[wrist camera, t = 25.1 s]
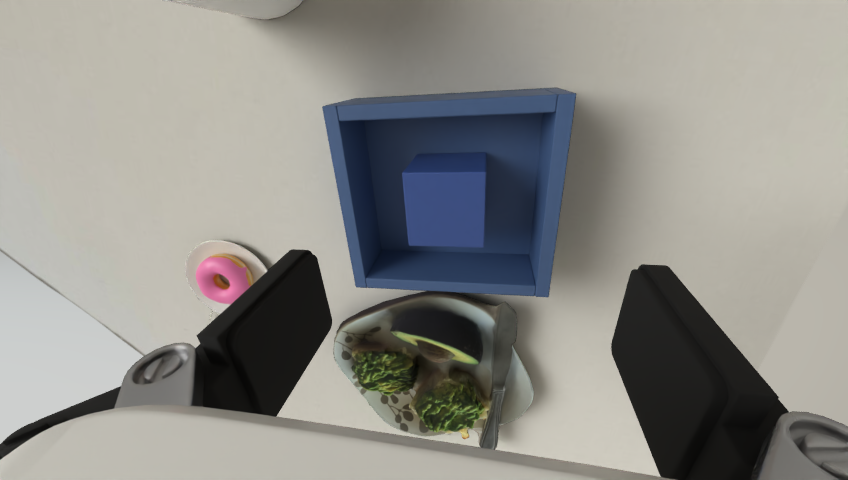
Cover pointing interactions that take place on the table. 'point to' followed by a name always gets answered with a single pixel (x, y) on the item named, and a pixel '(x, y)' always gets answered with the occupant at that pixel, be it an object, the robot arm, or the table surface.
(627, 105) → the table surface
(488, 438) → the salad plate
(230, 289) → the donut
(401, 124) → the blue bin
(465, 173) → the blue block
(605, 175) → the table surface
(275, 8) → the cylinder with rectangular tab
